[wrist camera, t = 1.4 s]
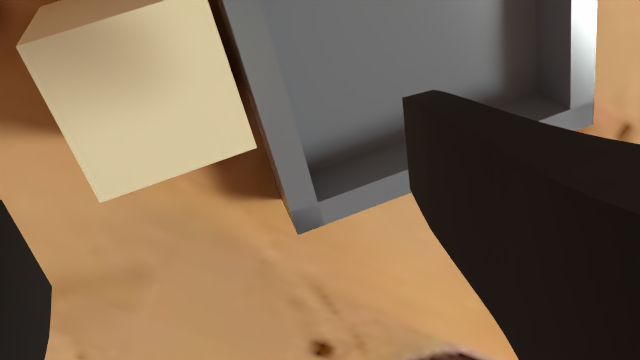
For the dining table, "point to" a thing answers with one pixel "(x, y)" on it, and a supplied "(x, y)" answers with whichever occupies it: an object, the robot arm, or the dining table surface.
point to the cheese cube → (136, 88)
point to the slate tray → (395, 82)
